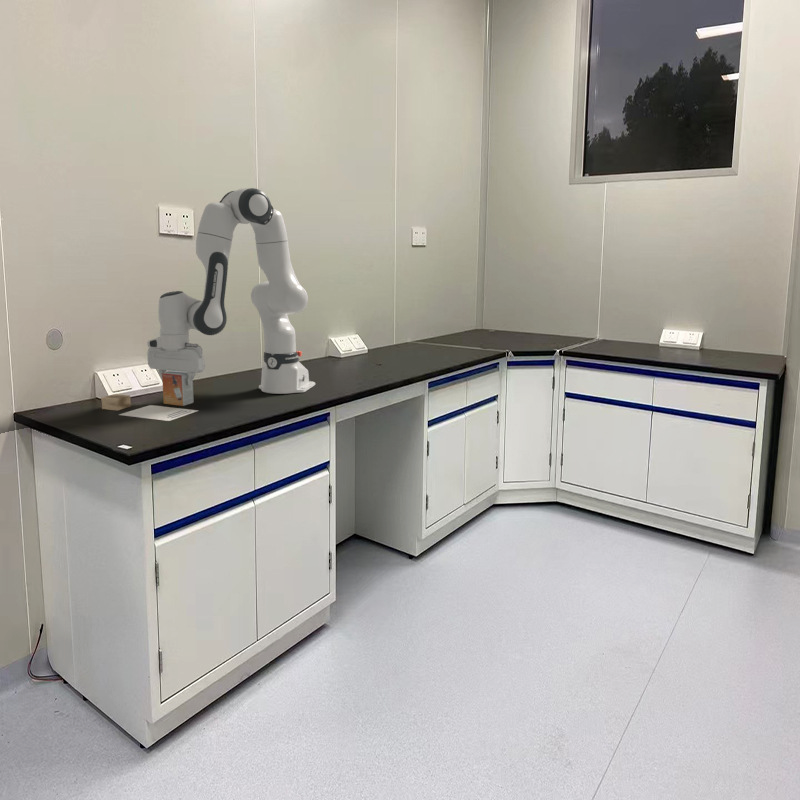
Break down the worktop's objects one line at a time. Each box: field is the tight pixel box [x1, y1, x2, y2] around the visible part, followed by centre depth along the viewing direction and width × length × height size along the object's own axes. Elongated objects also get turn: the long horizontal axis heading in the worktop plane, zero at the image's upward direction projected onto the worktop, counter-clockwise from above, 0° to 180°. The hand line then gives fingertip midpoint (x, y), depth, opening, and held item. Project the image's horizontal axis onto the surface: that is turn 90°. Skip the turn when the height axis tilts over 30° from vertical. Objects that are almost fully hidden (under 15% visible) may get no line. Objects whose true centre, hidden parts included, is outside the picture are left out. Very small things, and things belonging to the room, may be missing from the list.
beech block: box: [100, 393, 132, 411], centre depth 209 cm, size 6×6×4 cm
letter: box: [118, 404, 199, 422], centre depth 204 cm, size 14×19×1 cm
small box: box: [161, 370, 195, 407], centre depth 215 cm, size 8×6×10 cm
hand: (177, 384), depth 215 cm, fingers closed on small box, 8 cm apart
